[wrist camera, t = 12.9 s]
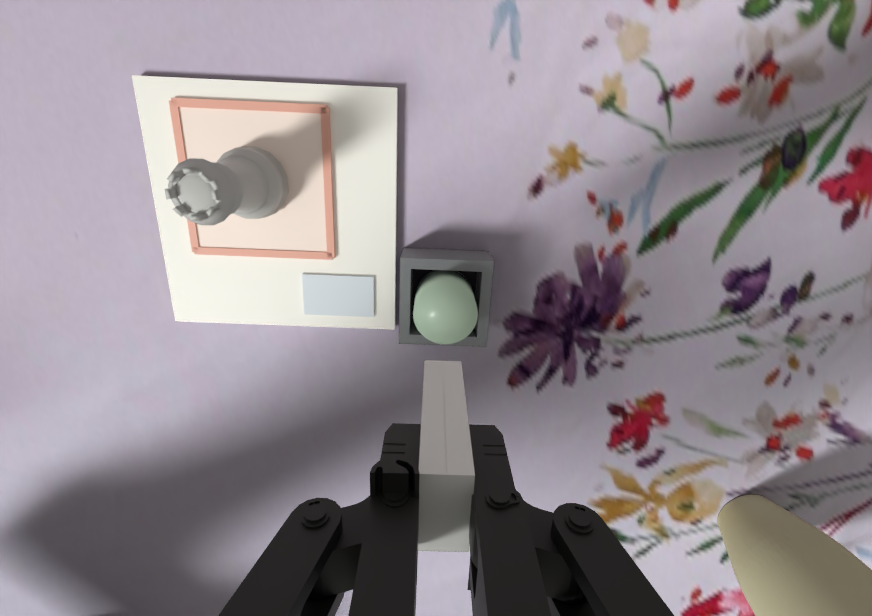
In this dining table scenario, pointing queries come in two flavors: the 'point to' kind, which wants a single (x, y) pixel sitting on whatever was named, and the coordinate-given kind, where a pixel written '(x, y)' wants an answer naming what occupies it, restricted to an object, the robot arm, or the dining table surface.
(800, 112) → the dining table surface
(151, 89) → the cream square board
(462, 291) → the button
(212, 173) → the rook chess piece
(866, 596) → the mug
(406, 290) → the button housing
